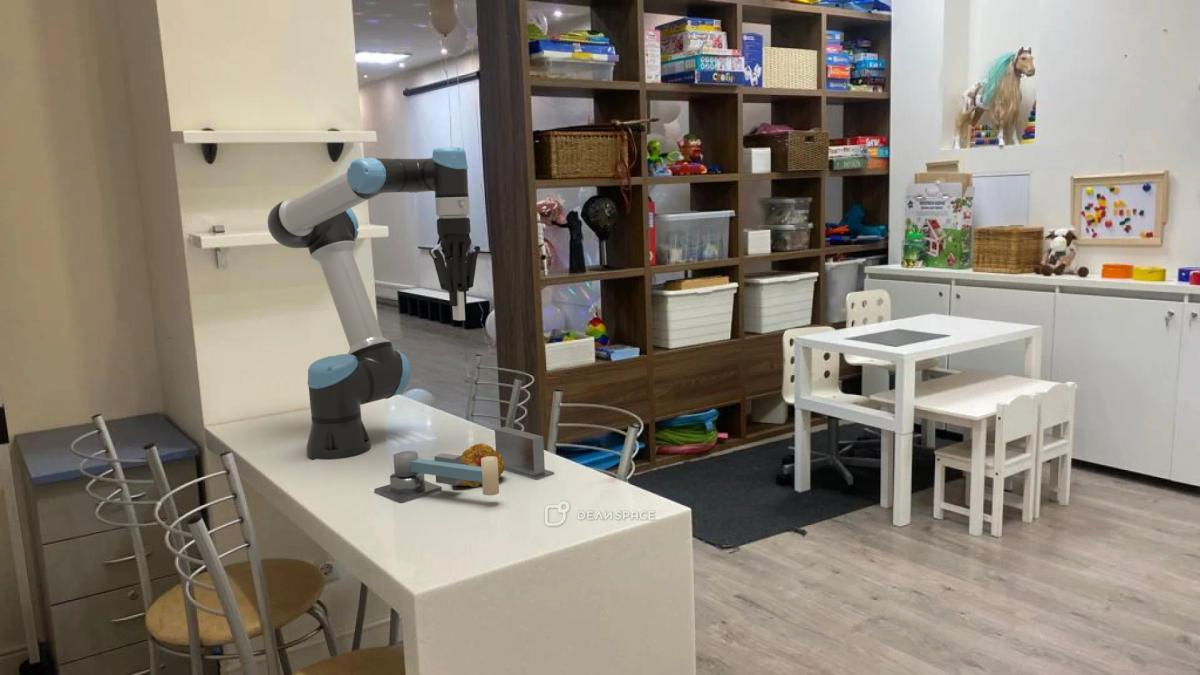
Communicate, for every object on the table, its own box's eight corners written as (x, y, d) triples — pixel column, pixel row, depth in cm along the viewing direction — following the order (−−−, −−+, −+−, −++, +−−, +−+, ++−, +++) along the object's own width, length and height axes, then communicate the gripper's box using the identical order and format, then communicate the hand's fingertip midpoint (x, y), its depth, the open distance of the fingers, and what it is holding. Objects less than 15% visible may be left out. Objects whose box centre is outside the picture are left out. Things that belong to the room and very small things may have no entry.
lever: (390, 482, 184) (387, 449, 182) (409, 473, 189) (406, 441, 188) (490, 498, 172) (488, 463, 171) (507, 488, 177) (506, 454, 176)
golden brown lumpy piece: (483, 506, 185) (444, 480, 183) (477, 501, 193) (439, 475, 191) (513, 462, 187) (475, 435, 185) (506, 458, 195) (469, 432, 193)
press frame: (374, 492, 185) (371, 450, 184) (494, 457, 207) (492, 420, 206) (431, 516, 170) (428, 471, 169) (554, 475, 192) (552, 435, 191)
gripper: (438, 218, 194) (445, 324, 198) (486, 215, 203) (491, 317, 207) (419, 218, 199) (426, 321, 203) (466, 215, 208) (472, 315, 212)
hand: (459, 319), depth 205 cm, fingers closed
